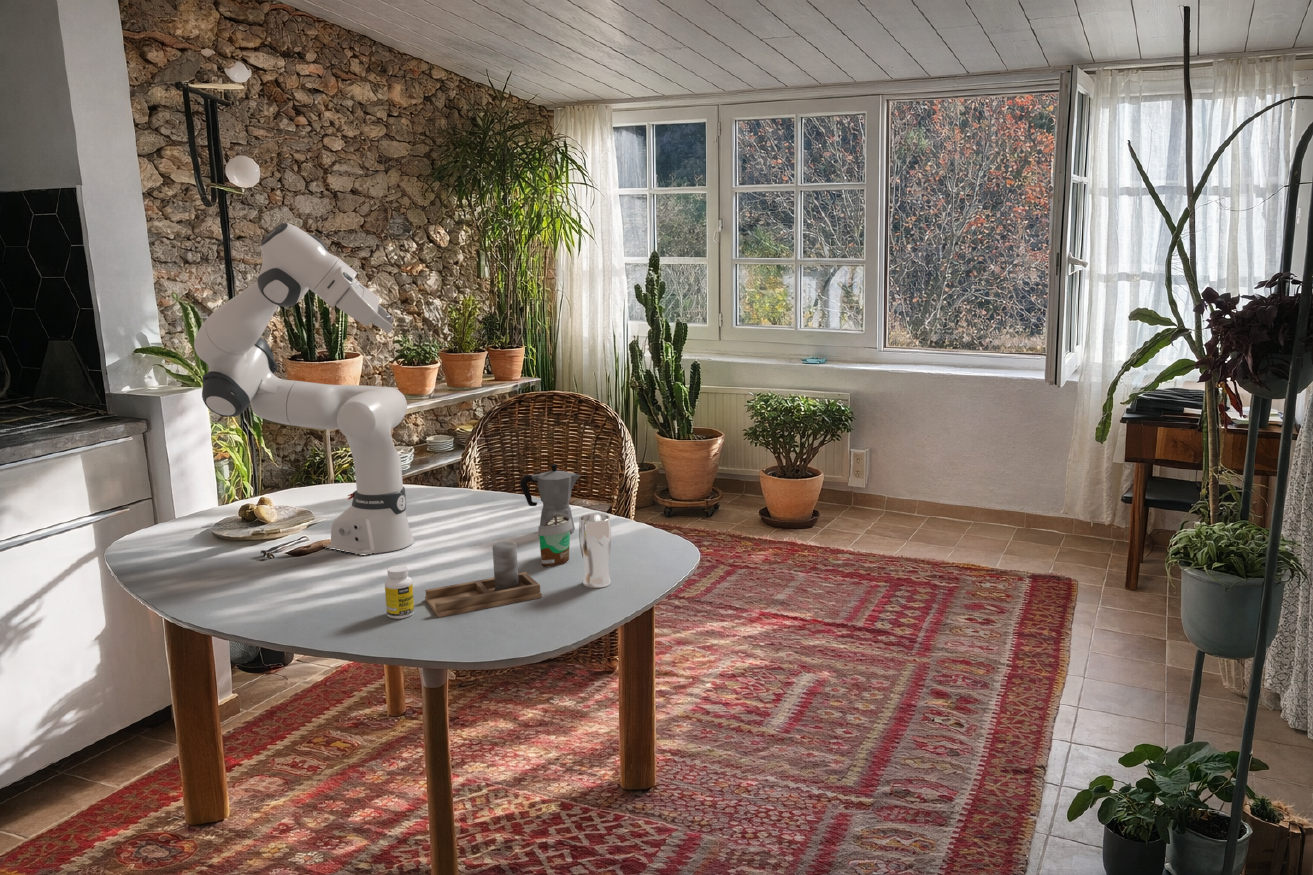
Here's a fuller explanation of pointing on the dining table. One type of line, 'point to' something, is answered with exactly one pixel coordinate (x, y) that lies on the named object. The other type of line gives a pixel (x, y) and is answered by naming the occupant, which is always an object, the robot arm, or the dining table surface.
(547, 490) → the coffeepot
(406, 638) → the dining table surface
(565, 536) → the food container
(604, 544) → the beer glass
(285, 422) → the robot arm
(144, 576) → the dining table surface
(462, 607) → the wooden compartment tray
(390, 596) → the supplement bottle
